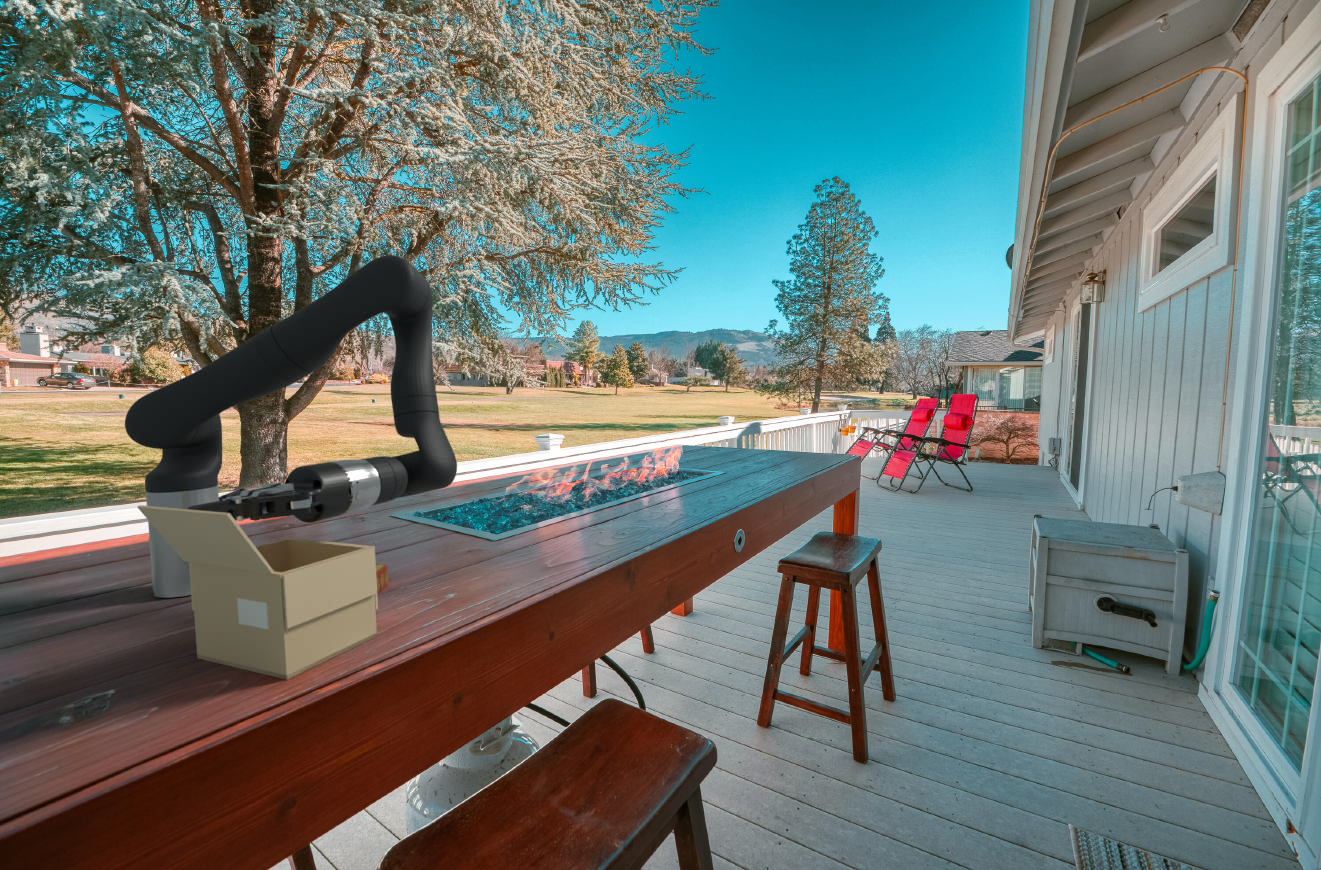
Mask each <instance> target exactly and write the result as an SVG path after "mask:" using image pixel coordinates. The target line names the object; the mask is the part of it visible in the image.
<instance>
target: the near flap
mask: <svg viewBox="0 0 1321 870" xmlns="http://www.w3.org/2000/svg"><path fill="white" fill-rule="evenodd" d="M137 509H138V510H139V511H140V512H141V513H142V515H143V516H144V517H145V518H146V520H147V521H148V520H149V521H150V523H151V524H152V525H153V526H154V527H155V528H156V529H157V531H158V532H159V533H160V534H161V535H162V536H163V538H164V539H165V540H166V541H167V542H168V543H169V544H170V546H171V547H172V548H173V549H174V550H175V551H176V552H177V554H178V555H179V556H180V557H181V558H182V559H183V561H186V562H193V563H200V564H207V565H214V566H221V567H228V568H235V569H242V570H249V571H256V572H263V573H271V574H272V573H274V570H273V569H272V568H271V567H270V565H269V564H268V563H267V561H266V560H265V559H264V557H263V556H262V555H261V553H260V552H259V551H258V550H257V548H256V547H255V546H256V545H255V544H254V543H253V542H252V540H251V539H250V538H249V537H248V535H247V534H246V533H245V532H244V530H243V528H242V527H241V526H240V525H239V524H238V522H237V520H234V518H233V517H232V516H231V514H230V513H224V512H212V511H201V510H189V509H177V508H166V507H154V506H147V505H140V504H139V505H138V506H137Z"/></svg>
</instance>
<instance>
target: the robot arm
mask: <svg viewBox="0 0 1321 870" xmlns="http://www.w3.org/2000/svg"><path fill="white" fill-rule="evenodd" d="M433 297H434V295H433V291H432V287H431V284H430V282H429V281H428V280H427V279H426V277H425V276H423V274H422V273H421V272H420V271H419V270H417V268H416V267H414V266H413V265H412V264H411V263H410V262H409V261H408V260H406V259H405V258H403V257H400V256H398V255H390V254H389V255H383V256H379V257H376V258H375V259H372V260H371V261H369V262H367V263H365V264H364V265H363V266H361V267H360V268H359V269H358V270H356V271H355V272H353V273H352V274H351V275H349V276H348V277H347V278H345V279H344V280H343V281H342V282H340V283H339V284H337V285H336V286H335V287H333V288H332V289H331V290H330V291H328V292H326V293H324V295H321V296H320V297H318V298H317V299H315V300H313V301H312V302H310V303H309V304H307V305H305V306H303V307H302V308H300V309H299V310H297V311H295V312H294V313H292V314H291V315H289V316H287V317H285V318H283V319H282V320H279V321H278V322H276V323H274V324H273V325H271V326H269V327H267V328H265V329H264V330H262V331H260V332H259V333H257V334H255V335H254V336H252V337H251V338H249V339H247V340H246V341H245V342H243V343H241V344H240V345H238V346H236V347H235V348H233V349H231V350H229V351H228V352H226V353H224V354H223V355H221V356H219V357H218V358H216V359H215V360H213V361H211V362H210V363H209V364H207V365H205V366H203V367H202V368H201V369H199V370H197V371H195V372H193V373H191V374H188V375H187V376H184V377H183V378H180V379H178V380H176V381H174V382H171V383H169V384H166V385H165V386H162V387H160V388H158V389H155V390H153V391H151V392H149V393H147V394H145V395H143V396H142V397H140V398H139V399H137V400H136V401H134V403H133V404H132V405H131V406H130V408H129V409H128V411H127V412H126V414H125V418H124V428H125V431H126V434H127V436H128V437H129V438H130V439H131V440H132V441H133V442H135V443H136V444H138V445H140V446H143V447H146V448H149V449H156V450H157V449H158V450H162V451H161V458H160V461H159V462H158V464H157V465H156V467H154V468H153V469H152V470H150V471H148V473H147V474H146V475H145V478H144V486H145V488H144V489H145V499H146V506H154V507H166V508H177V509H189V510H201V511H212V512H224V513H230V514H231V516H232V517H233V518H234V520H235V521H238V522H242V521H244V520H249V519H250V521H255V522H257V521H260V520H262V521H264V520H269V519H274V518H281V517H282V518H284V517H295V518H296V519H297V520H299V521H301V522H304V523H307V524H308V523H311V524H312V523H316V522H319V521H322V520H327V519H331V518H334V517H339V516H343V515H347V514H352V513H355V512H359V511H361V510H363V509H366V508H368V507H372V506H376V505H380V504H385V503H389V502H391V501H393V500H396V499H399V498H406V497H410V496H415V495H419V494H424V493H429V492H432V491H438V490H441V489H444V488H447V487H449V486H450V485H452V483H453V482H454V480H455V478H456V476H457V471H458V463H457V462H458V461H457V457H456V455H455V452H454V450H453V448H452V445H451V443H450V440H449V438H448V436H447V433H446V431H445V428H444V427H443V424H442V423H441V419H440V410H439V403H438V397H437V389H436V383H435V375H434V365H433V364H434V362H433V332H432V331H433V329H432V328H433V308H434V307H433V305H434V299H433ZM383 313H384V314H385V315H387V316H388V318H389V321H390V325H391V328H392V331H393V335H394V340H395V341H394V342H395V343H394V344H395V354H394V363H393V368H392V372H391V378H390V399H391V408H392V414H393V422H394V428H395V431H396V433H397V435H399V436H400V437H403V438H407V439H408V438H409V439H414V441H415V443H416V445H417V447H418V450H415V451H412V452H407V453H404V454H400V455H395V456H387V455H386V456H385V455H384V456H383V455H381V456H373V457H366V458H362V459H361V458H360V459H341V460H333V461H328V462H320V463H314V464H308V465H301V466H298V467H295V468H294V469H293V470H291V471H290V472H289V474H288V475H287V476H286V477H287V478H286V480H285V481H284V483H283V484H282V483H281V482H271V483H265V484H263V486H261V487H253V488H244V487H242V488H241V487H240V488H239V489H235V490H233V491H230V492H228V493H226V494H223V495H221V496H219V494H220V493H219V480H218V477H219V474H220V472H221V469H222V467H223V466H222V465H223V426H222V418H221V415H220V414H221V413H223V412H224V411H227V410H229V409H231V408H233V407H236V406H239V405H241V404H244V403H247V402H250V401H252V400H256V399H260V398H261V397H264V396H267V395H271V394H273V393H275V392H278V391H280V390H282V389H283V390H284V389H285V388H288V387H289V386H291V385H293V384H295V383H297V382H298V381H300V380H302V379H303V378H306V377H307V376H309V375H310V374H312V373H314V372H316V371H317V370H319V369H321V367H323V366H324V365H325V364H326V363H327V362H328V361H329V359H331V358H332V356H333V355H334V353H335V352H336V351H337V349H338V347H339V346H340V344H341V342H342V341H343V340H344V338H346V336H347V335H348V334H349V333H350V332H351V331H352V330H354V329H355V328H356V327H358V326H360V325H362V324H363V323H365V322H366V321H368V320H370V319H372V318H374V317H376V316H378V315H381V314H383ZM147 523H148V524H147V525H148V536H149V537H148V544H149V545H148V546H149V557H150V571H151V582H152V583H151V584H152V586H151V587H152V592H153V596H154V597H155V598H162V599H164V598H165V599H166V598H178V597H185V596H186V597H187V596H191V585H190V572H189V562H186V561H183V559H182V558H181V557H180V556H179V555H178V554H177V552H176V551H175V550H174V549H173V548H172V547H171V546H170V544H169V543H168V542H167V541H166V540H165V539H164V538H163V536H162V535H161V534H160V533H159V532H158V531H157V529H156V528H155V527H154V526H153V525H152V524H151V523H150V521H149V520H148V519H147Z"/></svg>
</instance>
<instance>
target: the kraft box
mask: <svg viewBox="0 0 1321 870" xmlns="http://www.w3.org/2000/svg"><path fill="white" fill-rule="evenodd" d="M254 546H255V547H256V548H257V550H258V551H259V552H260V553H261V555H262V556H263V557H264V559H265V560H266V561H267V563H268V564H269V565H270V567H271V568H272V569H273V570H274V573H272V574H271V573H263V572H256V571H249V570H242V569H235V568H228V567H221V566H214V565H207V564H200V563H193V562H189V572H190V585H191V595H190V597H191V609H192V611H193V614H194V615H193V616H194V626H195V643H196V655H197V659H199V660H203V661H207V662H211V663H216V664H221V665H224V666H229V667H231V668H232V667H233V668H237V669H241V670H243V671H244V670H245V671H249V672H254V673H258V674H262V675H265V676H270V677H274V678H277V679H282V680H286V681H287V680H290V679H292V678H294V677H296V676H298V675H300V674H302V673H305V672H306V671H308V670H310V669H312V668H315V667H317V666H319V665H321V664H323V663H325V662H327V661H329V660H331V659H333V658H336V657H337V656H340V655H341V654H344V653H345V652H348V651H350V650H352V649H354V648H357V647H358V646H360V645H362V644H364V643H367V642H369V641H371V640H373V639H375V638H377V637H378V633H377V631H378V630H377V629H378V628H377V615H376V614H377V613H376V610H378V609H379V604H378V603H379V600H378V599H379V598H378V595H377V579H376V564H377V563H376V547H375V546H374V545H364V544H355V543H347V542H346V543H345V542H338V541H337V542H335V541H326V540H316V539H306V538H300V537H299V538H297V537H291V538H290V537H288V538H284V539H279V540H275V541H271V542H267V543H263V544H258V545H254Z"/></svg>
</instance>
